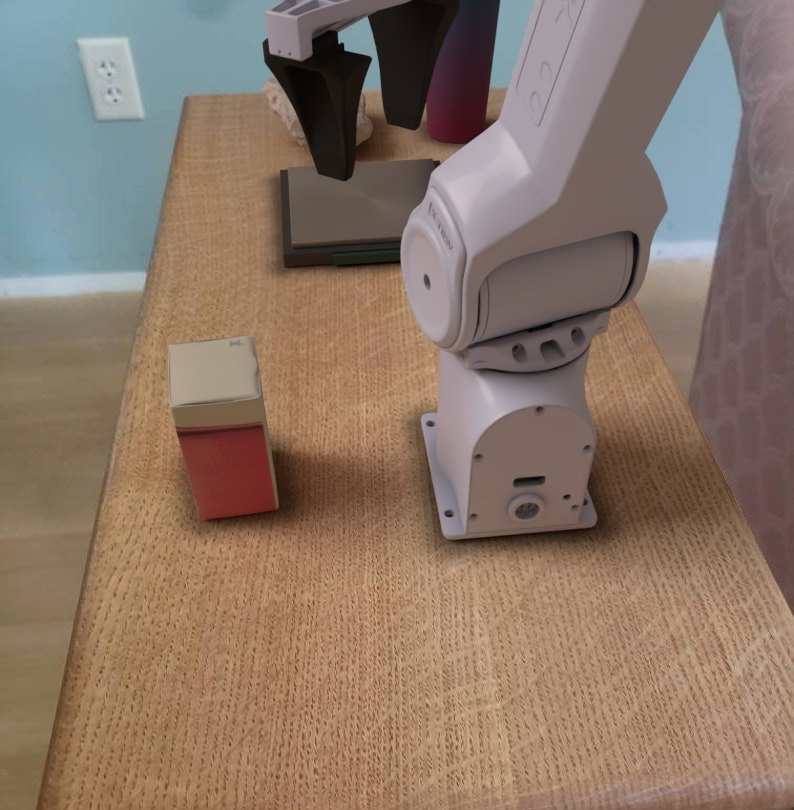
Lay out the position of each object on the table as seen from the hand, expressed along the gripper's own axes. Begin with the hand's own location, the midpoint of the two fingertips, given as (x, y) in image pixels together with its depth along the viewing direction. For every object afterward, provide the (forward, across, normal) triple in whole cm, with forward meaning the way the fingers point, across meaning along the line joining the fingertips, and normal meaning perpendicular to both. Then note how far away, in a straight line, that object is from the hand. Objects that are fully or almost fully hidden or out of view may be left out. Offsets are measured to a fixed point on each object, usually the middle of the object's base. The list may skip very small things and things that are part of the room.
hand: (370, 149), depth 51 cm
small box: (+10, +20, +4) cm, 22 cm away
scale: (+10, -8, -6) cm, 14 cm away
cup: (+10, -25, -8) cm, 28 cm away
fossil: (+10, -18, -17) cm, 27 cm away
